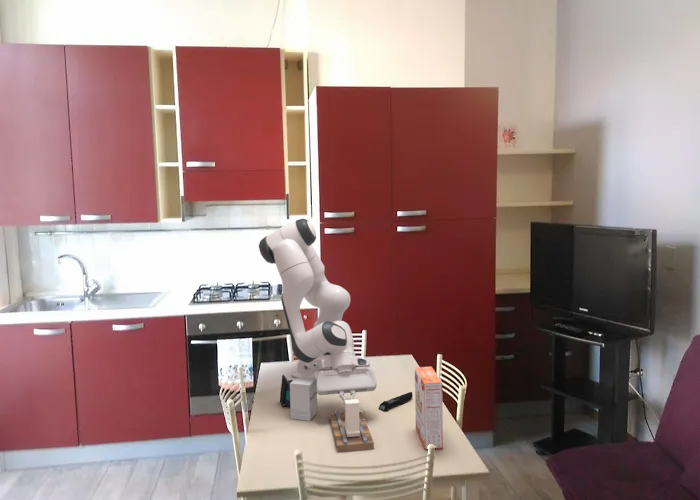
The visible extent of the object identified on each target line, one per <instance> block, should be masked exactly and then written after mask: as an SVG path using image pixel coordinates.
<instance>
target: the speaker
mask: <svg viewBox="0 0 700 500" xmlns="http://www.w3.org/2000/svg"><path fill="white" fill-rule="evenodd" d="M293 380H294V379H287V378H286V376H285V374H282V377H281V387H280V395H279V401H278V402H279V404H280V405H281V407H282V408H285V406H287V407H290V383H291V382H292V381H293Z"/></svg>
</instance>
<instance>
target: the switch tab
mask: <svg viewBox="0 0 700 500" xmlns="http://www.w3.org/2000/svg"><path fill="white" fill-rule="evenodd" d="M359 412H360V402H359V399H358V398H353V399H351V400H345V406H344V413H345V432H346V435H347V437H356V436H360V430H359Z"/></svg>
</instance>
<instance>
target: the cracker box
mask: <svg viewBox="0 0 700 500" xmlns="http://www.w3.org/2000/svg"><path fill="white" fill-rule="evenodd" d="M414 387H415V388H414V391H415V392H414V396H415V397H414V399H415V402H414V403H415V404H414V405H415V406H414V407H415V429H416V431H417V435H418V437H419V439H420V441H421V444H422V447H423V449H424V450H425V451H426V450H428V449H427V446H428V445H429V444H433V445H435V446H436V449H435V450H437V449H439V450H440V449H441V450H442V449H443V447H444V441H443V440H444V439H443V437H444V436H443V435H444V434H443V433H444V431H443V430H444V428H443V423H444V422H443V417H444V416H443V412H444V411H443V382H442V380H441V379H440V377H439V375H438V374H437V373H436V371H435V370H434V368H433V366H416V367H414Z"/></svg>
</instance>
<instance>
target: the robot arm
mask: <svg viewBox="0 0 700 500" xmlns="http://www.w3.org/2000/svg"><path fill="white" fill-rule="evenodd" d="M316 239H317V232H316V228H315V227H314V224H312V222H310V221H309V220H308V219H306V218H299V219H296V220H295V221H294V222H291V223H288V224H285V225H284V226H283V225H282V227H280V228H279V229H277V230H275V231H273V232H272V233H270V234H268V235H265V236H264V237H263V238H261V239H260V241H259V243H258V249H259V253H260V256H261V257H262V258H263V260H265V262H267V263H269V264H272V265H273V264H275V266H276V269H277V271H278V274H279V277H280V278H281V282H282V294H281V298H280V299H281V304H282V309H283V313H284V317H285V320H286V323H287V324H286V325H287V327H288V332H289V335H290V339H291V349H292V352H293V354H294V357H296V358H297V359H298V361H297V366H296V368H294V370H293V371H292V372H291V377H292V378H295V379H296V378H297V377H298V376H299V377H312V378H315V379H316V380H317V385H316V392H317V396H318V395H319V396H327V395H328V396H329V395H338V396H339V398H340V399H341V401H343V406H344V407H345V400H351V399H355V395H356V393H363V392H374V391H375V390H376V388H377V387H378V386H377V383H378V382H377V379H376V375H375V372H374V370H373V368H372V367H371V362H370V360H369V359H366V358H363V357H359V356H356V353H355V351H354V348H355V342H354V337H353V333H352V329H351V326H350V325H349V323H347V322H346V321H344V320H343V315H344V313H345V312H346V310H348V308H349V307H350V305H351V294H350V293H349V292H348V291H347V290H346V288H344V287H342V286H340V285H337V284H334V283H331V282H330V281H328V279H327V276H326V275H325V271H326V270H325V268H326V267H325V264H324V263H323V262H322V260H321V259H320V257H319V255H318V253H317V251H316V249H315V248H314V247H313V246H312V245H313V244H314V243H315V242H316ZM304 299H305V301H306V302H307V303H309V304H310V305H311V306H313V307H316V308H318V310H319V312H318V313H319V314H318V318H317V319H316V321H315V322H314V323H313V327H312V328H310V329H309V330H306V329H305V325H304V321H303V317H302V313H301V304H302V302H303V300H304ZM345 394H350V396H351V397H350V398H346V397H345Z"/></svg>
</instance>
